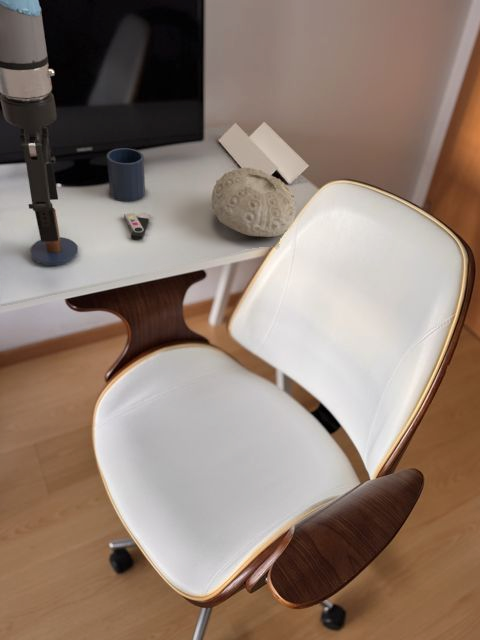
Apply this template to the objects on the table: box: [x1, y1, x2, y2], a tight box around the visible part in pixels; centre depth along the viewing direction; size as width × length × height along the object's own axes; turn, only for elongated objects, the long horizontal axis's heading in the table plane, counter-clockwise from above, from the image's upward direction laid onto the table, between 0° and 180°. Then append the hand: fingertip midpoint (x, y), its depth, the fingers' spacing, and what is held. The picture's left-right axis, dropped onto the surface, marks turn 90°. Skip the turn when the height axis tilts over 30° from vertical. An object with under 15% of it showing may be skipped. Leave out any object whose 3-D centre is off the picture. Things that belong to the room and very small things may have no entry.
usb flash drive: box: [123, 212, 151, 240], centre depth 109 cm, size 9×5×1 cm, turn 177°
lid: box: [29, 207, 79, 266], centre depth 97 cm, size 8×8×9 cm
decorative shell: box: [210, 167, 297, 238], centre depth 112 cm, size 18×18×10 cm
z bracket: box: [218, 121, 309, 185], centre depth 136 cm, size 12×25×6 cm
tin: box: [106, 147, 146, 203], centre depth 116 cm, size 7×7×8 cm
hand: (50, 218), depth 95 cm, fingers open, 13 cm apart
